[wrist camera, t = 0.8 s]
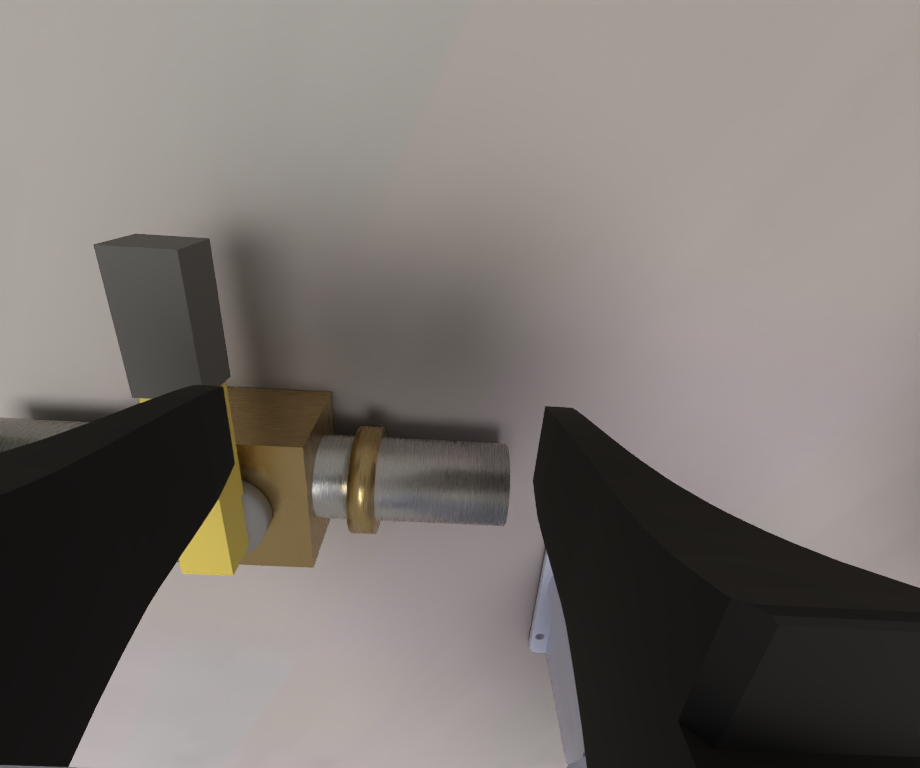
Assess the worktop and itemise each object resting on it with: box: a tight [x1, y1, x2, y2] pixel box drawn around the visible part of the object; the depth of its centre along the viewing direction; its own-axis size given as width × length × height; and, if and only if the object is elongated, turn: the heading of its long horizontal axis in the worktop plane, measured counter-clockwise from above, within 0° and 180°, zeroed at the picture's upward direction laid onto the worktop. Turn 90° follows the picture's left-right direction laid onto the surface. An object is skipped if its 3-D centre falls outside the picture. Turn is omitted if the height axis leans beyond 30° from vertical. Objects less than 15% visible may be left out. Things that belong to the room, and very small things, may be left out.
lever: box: [94, 234, 272, 575], centre depth 16 cm, size 12×3×2 cm, turn 176°
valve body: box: [0, 387, 510, 567], centre depth 21 cm, size 22×6×5 cm, turn 86°
